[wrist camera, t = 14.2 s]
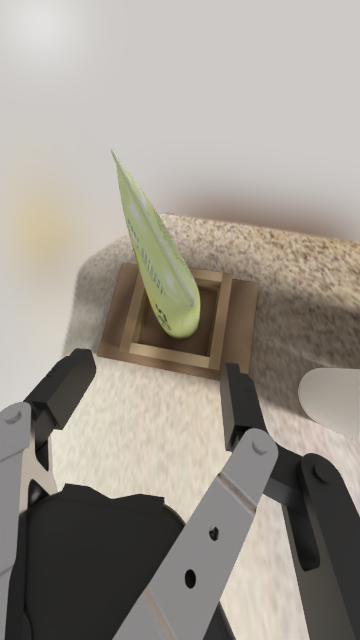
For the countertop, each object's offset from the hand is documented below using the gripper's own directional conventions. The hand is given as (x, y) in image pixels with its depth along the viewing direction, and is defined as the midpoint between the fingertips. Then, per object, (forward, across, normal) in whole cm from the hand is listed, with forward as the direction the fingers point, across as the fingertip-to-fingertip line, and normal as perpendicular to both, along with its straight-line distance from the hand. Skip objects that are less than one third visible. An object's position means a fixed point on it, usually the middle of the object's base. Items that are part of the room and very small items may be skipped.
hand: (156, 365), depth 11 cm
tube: (+14, 0, +6) cm, 15 cm away
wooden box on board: (+15, 0, +7) cm, 16 cm away
